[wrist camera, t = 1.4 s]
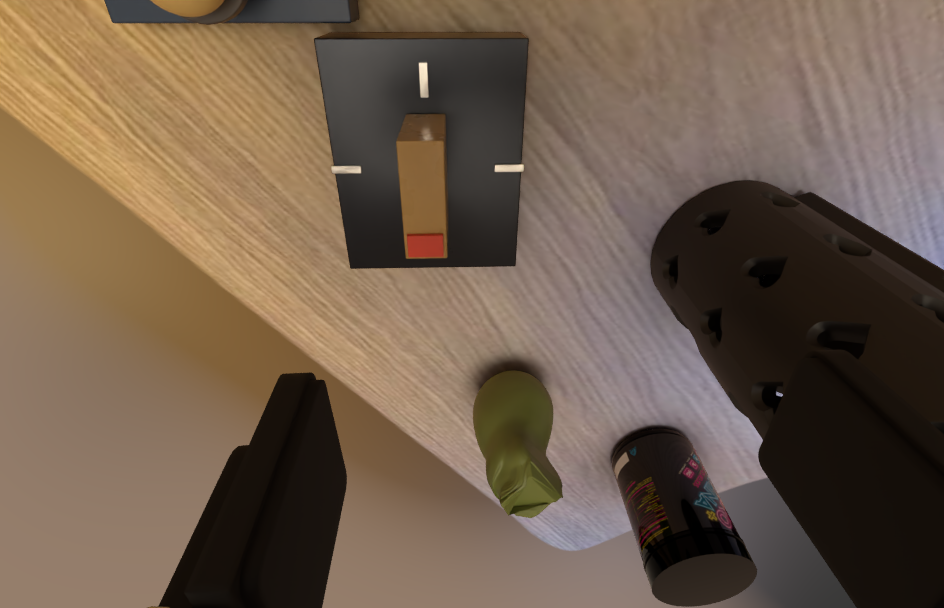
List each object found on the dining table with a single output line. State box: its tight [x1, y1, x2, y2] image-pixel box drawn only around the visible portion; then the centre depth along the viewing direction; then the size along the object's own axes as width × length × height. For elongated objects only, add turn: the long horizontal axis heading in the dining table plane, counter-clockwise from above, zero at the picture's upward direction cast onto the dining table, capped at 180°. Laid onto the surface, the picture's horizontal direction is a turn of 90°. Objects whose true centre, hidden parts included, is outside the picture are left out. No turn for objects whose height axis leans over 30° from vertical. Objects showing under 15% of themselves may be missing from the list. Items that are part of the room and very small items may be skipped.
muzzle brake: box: [651, 181, 944, 440], centre depth 18 cm, size 10×28×10 cm
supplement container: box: [612, 428, 757, 606], centre depth 36 cm, size 7×7×10 cm
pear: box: [473, 371, 563, 518], centre depth 31 cm, size 6×5×10 cm
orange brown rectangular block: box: [396, 114, 448, 259], centre depth 21 cm, size 5×2×5 cm, turn 0°
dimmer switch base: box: [314, 32, 529, 269], centre depth 24 cm, size 11×9×3 cm
